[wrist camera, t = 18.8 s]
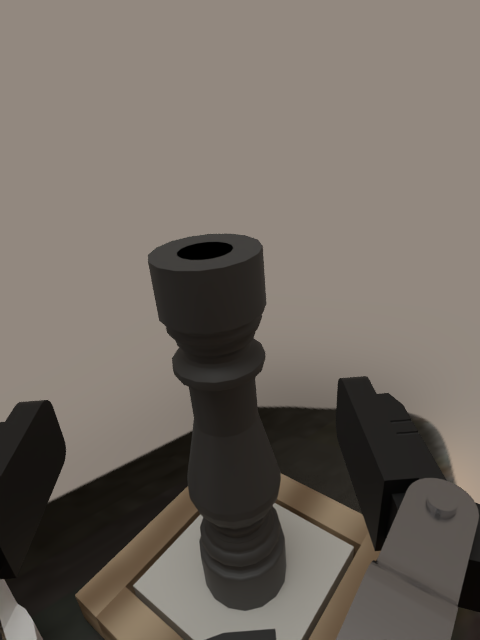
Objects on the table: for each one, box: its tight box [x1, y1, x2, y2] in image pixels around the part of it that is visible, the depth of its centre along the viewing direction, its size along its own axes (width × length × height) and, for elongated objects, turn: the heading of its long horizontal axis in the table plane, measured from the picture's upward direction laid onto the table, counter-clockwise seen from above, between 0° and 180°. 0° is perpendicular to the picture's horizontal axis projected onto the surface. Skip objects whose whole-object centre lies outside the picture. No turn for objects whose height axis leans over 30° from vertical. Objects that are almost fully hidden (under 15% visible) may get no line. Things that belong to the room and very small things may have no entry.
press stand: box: [75, 473, 381, 640], centre depth 34 cm, size 18×18×3 cm
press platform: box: [133, 503, 354, 640], centre depth 33 cm, size 12×12×2 cm
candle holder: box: [148, 234, 286, 611], centre depth 27 cm, size 6×6×25 cm
